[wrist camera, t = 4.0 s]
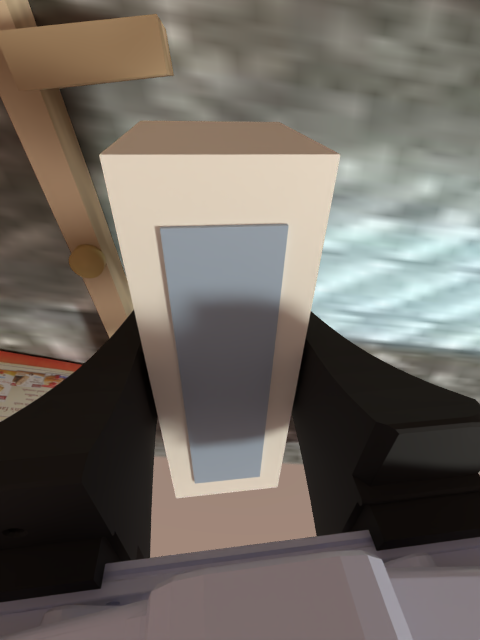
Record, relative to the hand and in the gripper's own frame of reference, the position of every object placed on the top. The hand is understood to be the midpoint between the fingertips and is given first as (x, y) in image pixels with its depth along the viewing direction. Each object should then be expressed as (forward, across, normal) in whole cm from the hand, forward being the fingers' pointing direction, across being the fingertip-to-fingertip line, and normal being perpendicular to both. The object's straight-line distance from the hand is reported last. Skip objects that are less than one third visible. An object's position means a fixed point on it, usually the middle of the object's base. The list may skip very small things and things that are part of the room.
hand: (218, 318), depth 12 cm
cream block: (+2, 0, 0) cm, 2 cm away
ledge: (+8, +4, 0) cm, 9 cm away
